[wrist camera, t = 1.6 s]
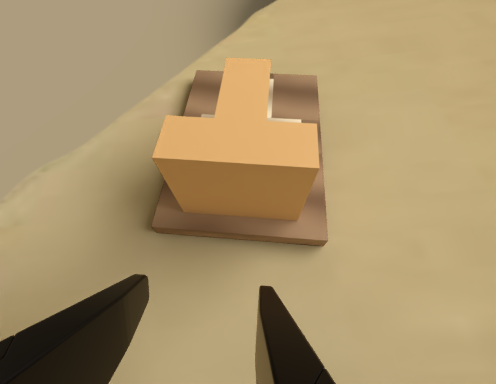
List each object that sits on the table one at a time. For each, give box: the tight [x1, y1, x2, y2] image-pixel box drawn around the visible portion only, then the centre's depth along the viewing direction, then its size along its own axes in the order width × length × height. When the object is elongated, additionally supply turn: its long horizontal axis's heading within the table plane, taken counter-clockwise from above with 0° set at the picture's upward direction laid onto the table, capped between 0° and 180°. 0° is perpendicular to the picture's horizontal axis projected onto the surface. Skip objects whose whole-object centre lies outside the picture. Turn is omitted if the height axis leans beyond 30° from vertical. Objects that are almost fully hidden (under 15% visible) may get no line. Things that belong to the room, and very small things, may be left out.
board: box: [151, 70, 328, 246], centre depth 27 cm, size 21×15×2 cm
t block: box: [152, 58, 320, 221], centre depth 21 cm, size 10×10×8 cm
